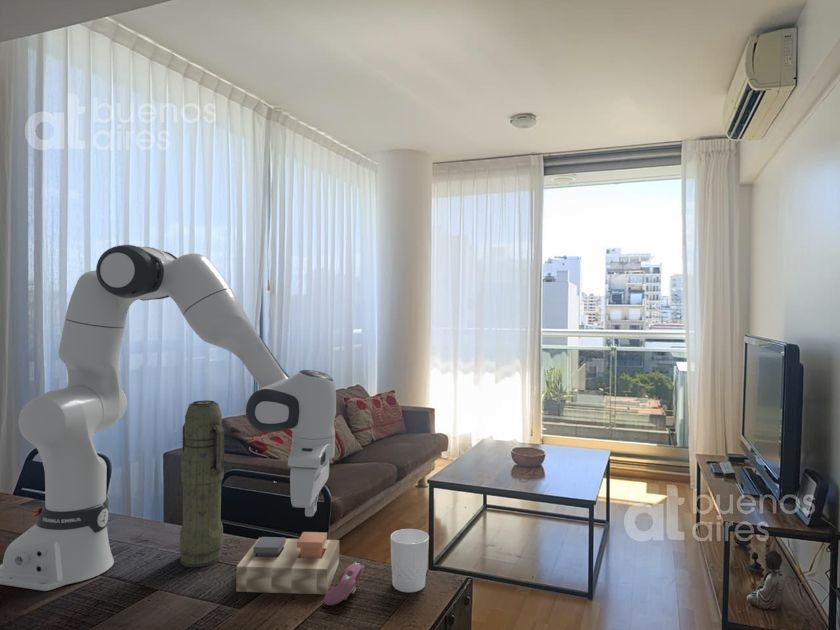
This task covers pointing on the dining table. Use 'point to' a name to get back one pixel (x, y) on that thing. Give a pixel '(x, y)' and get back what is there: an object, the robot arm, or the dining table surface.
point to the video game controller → (345, 584)
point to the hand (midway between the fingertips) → (310, 514)
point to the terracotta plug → (312, 544)
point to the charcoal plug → (269, 546)
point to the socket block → (288, 570)
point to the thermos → (202, 485)
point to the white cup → (409, 559)
